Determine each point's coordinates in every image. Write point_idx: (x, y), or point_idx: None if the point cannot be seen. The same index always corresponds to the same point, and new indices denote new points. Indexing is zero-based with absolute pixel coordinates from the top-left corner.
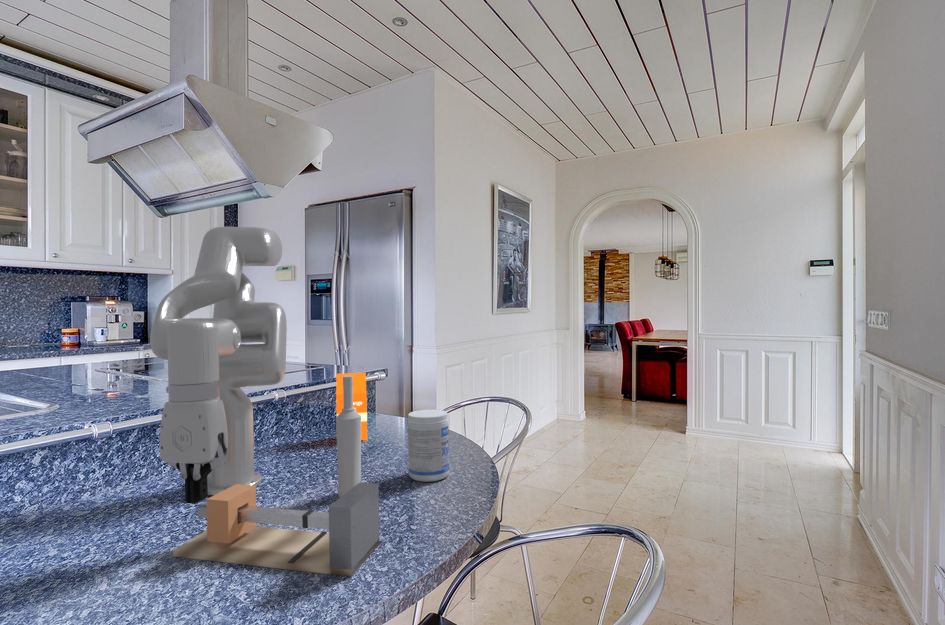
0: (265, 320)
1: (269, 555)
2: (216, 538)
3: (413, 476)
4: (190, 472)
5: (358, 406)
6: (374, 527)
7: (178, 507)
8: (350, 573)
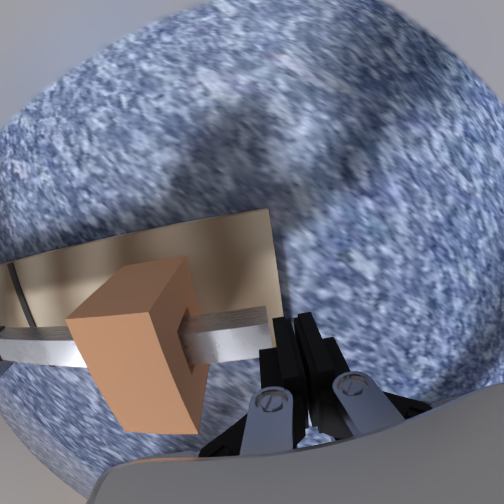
0: None
1: (49, 272)
2: (155, 263)
3: None
4: (337, 414)
5: None
6: None
7: (441, 362)
8: None
